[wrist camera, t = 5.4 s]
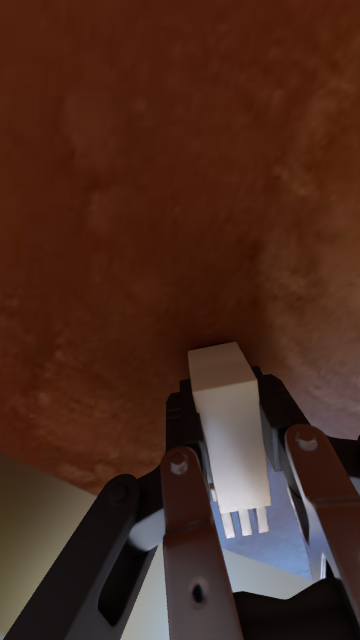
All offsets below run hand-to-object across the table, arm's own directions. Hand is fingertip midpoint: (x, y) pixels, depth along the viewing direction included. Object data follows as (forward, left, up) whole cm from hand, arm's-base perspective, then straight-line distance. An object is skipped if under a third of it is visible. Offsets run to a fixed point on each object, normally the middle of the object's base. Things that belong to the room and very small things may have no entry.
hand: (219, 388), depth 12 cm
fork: (0, -4, -1) cm, 4 cm away
